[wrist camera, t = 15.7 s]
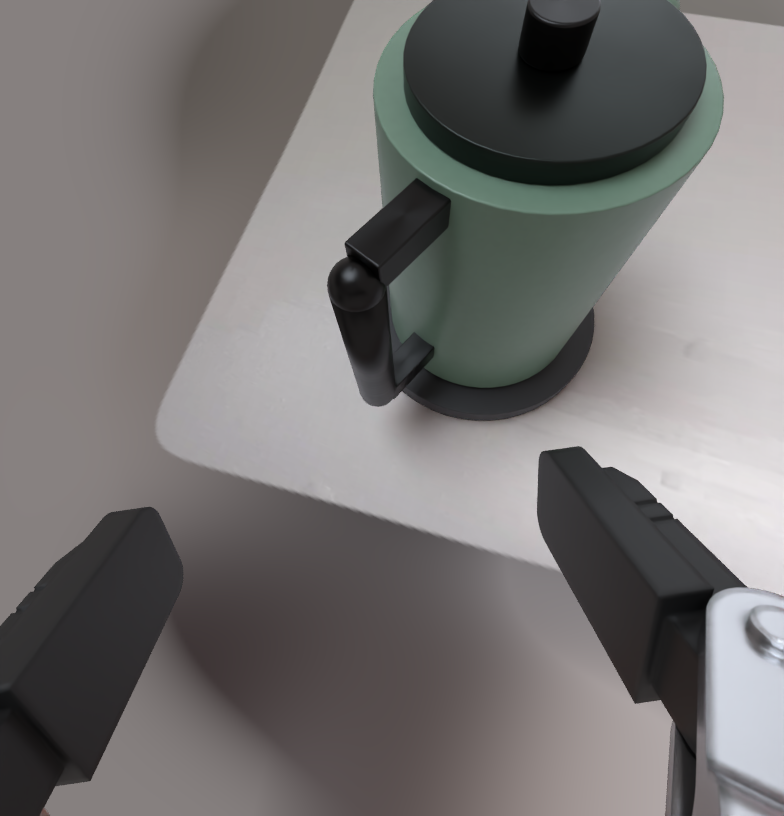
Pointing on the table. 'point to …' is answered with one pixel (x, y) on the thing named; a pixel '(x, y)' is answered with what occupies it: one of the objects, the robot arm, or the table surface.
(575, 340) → the kettle base
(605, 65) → the kettle
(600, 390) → the table surface
